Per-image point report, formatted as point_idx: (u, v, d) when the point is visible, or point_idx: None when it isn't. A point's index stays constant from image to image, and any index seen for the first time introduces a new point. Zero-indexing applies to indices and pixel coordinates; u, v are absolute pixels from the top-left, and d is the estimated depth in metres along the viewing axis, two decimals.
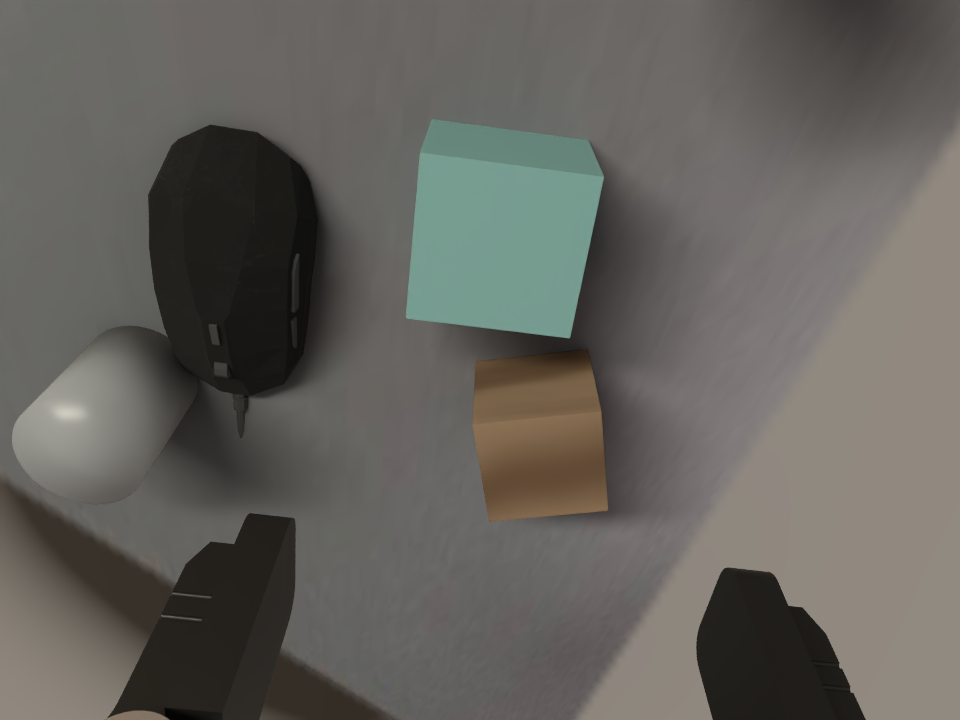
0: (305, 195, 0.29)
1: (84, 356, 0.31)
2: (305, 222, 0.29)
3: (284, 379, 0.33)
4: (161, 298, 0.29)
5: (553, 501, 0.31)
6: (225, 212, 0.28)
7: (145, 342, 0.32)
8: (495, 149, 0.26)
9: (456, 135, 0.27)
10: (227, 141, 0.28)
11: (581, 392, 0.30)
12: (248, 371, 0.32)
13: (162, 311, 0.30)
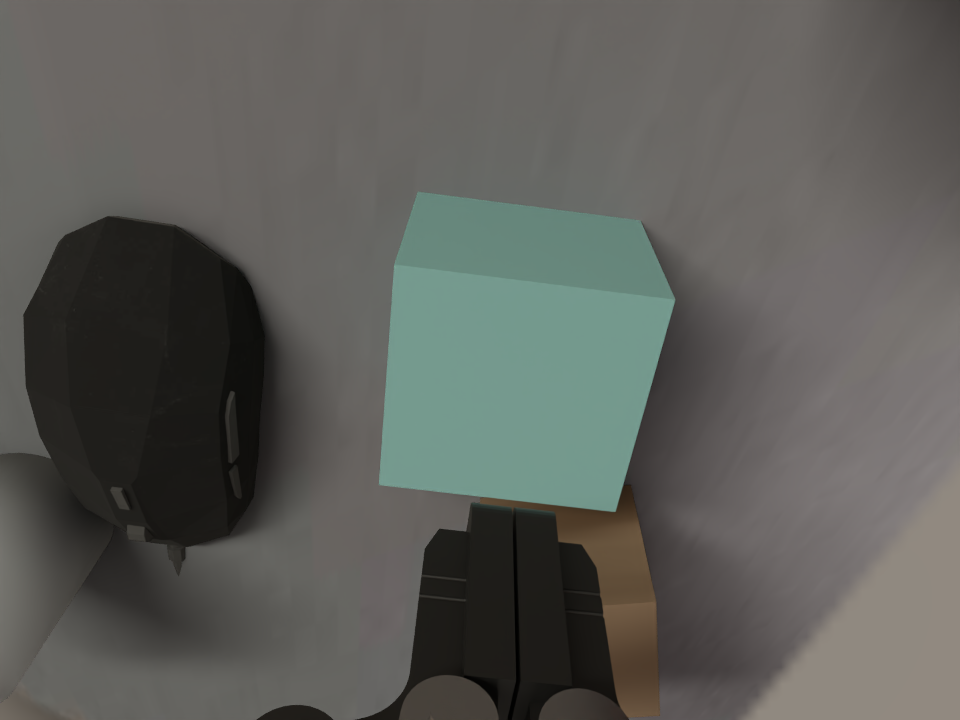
0: (243, 309, 0.21)
1: None
2: (243, 347, 0.21)
3: (228, 531, 0.25)
4: (49, 447, 0.22)
5: None
6: (126, 341, 0.20)
7: (35, 479, 0.24)
8: (509, 248, 0.17)
9: (451, 223, 0.18)
10: (131, 240, 0.20)
11: (626, 562, 0.22)
12: (176, 530, 0.24)
13: (54, 460, 0.22)
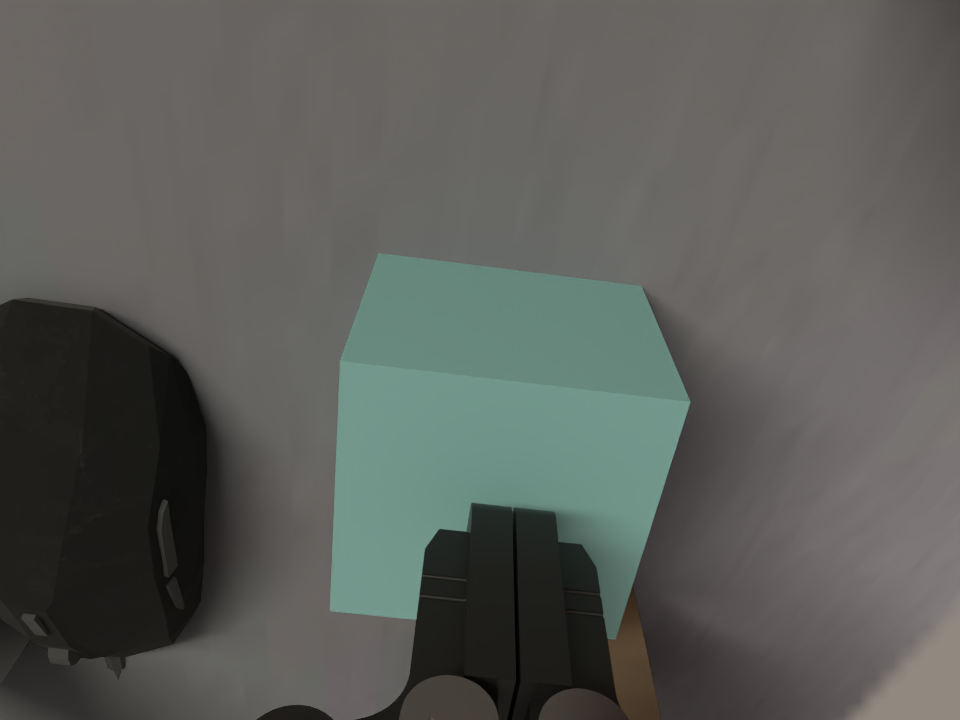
0: (178, 403, 0.18)
1: None
2: (177, 449, 0.18)
3: (172, 641, 0.22)
4: None
5: None
6: (33, 450, 0.17)
7: None
8: (485, 331, 0.14)
9: (416, 296, 0.15)
10: (40, 327, 0.17)
11: (628, 680, 0.19)
12: (108, 648, 0.21)
13: None
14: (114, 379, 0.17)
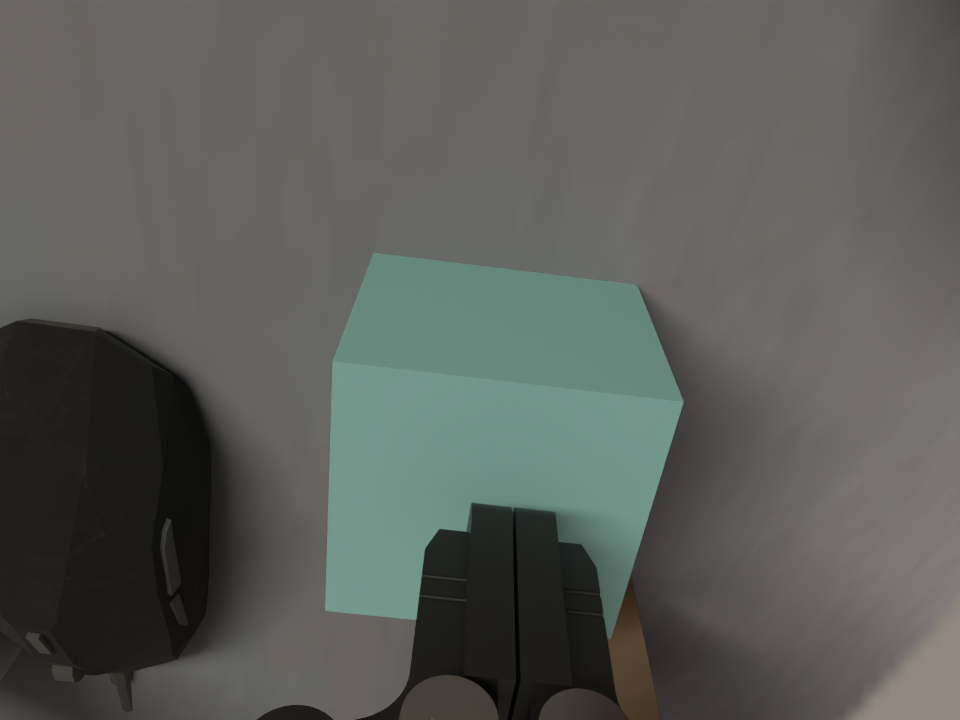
0: (181, 422, 0.18)
1: None
2: (180, 468, 0.18)
3: (176, 657, 0.22)
4: None
5: None
6: (38, 471, 0.17)
7: None
8: (479, 331, 0.14)
9: (411, 296, 0.15)
10: (44, 348, 0.17)
11: (628, 680, 0.19)
12: (112, 664, 0.21)
13: None
14: (117, 399, 0.17)
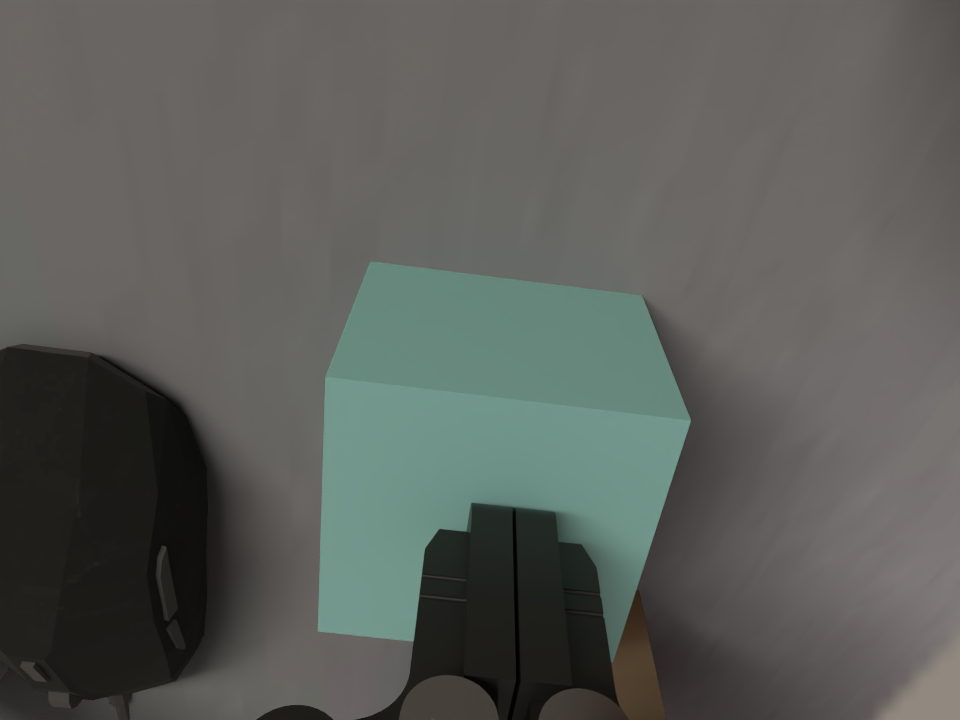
0: (176, 447, 0.18)
1: None
2: (175, 493, 0.18)
3: (174, 679, 0.22)
4: None
5: None
6: (30, 500, 0.16)
7: None
8: (478, 344, 0.14)
9: (408, 307, 0.15)
10: (36, 375, 0.17)
11: (636, 700, 0.18)
12: (109, 689, 0.20)
13: None
14: (111, 426, 0.17)
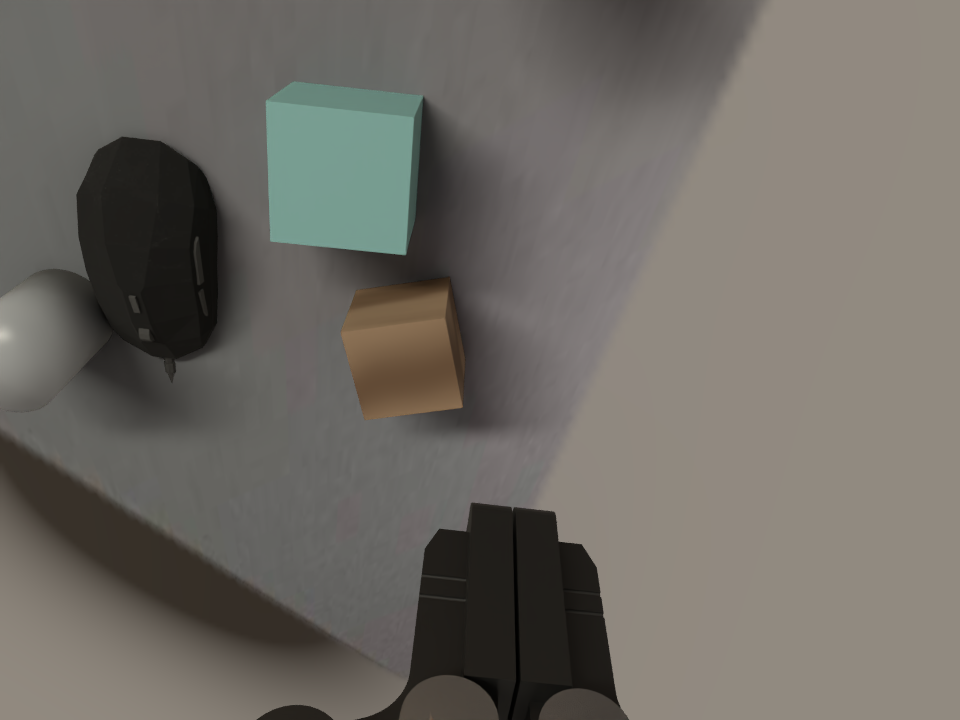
0: (202, 189, 0.36)
1: (11, 291, 0.37)
2: (202, 211, 0.36)
3: (202, 343, 0.40)
4: (92, 277, 0.37)
5: (415, 400, 0.37)
6: (135, 204, 0.35)
7: (65, 281, 0.38)
8: (333, 100, 0.32)
9: (306, 91, 0.33)
10: (136, 149, 0.35)
11: (434, 306, 0.36)
12: (168, 336, 0.39)
13: (94, 288, 0.37)
14: (171, 173, 0.35)
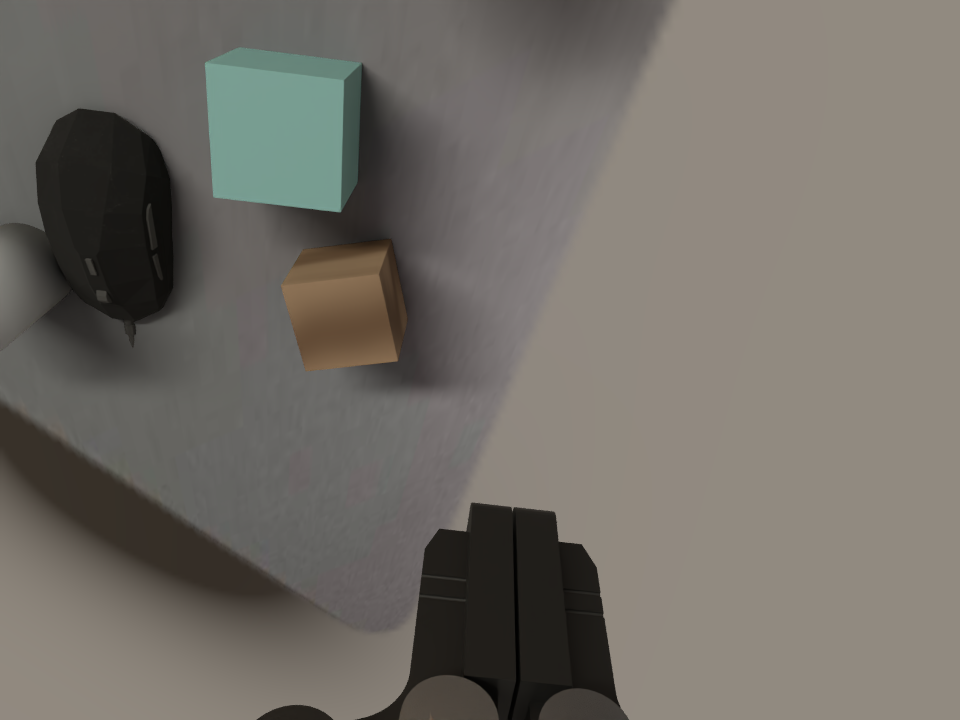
0: (154, 159, 0.39)
1: None
2: (154, 179, 0.39)
3: (158, 306, 0.43)
4: (51, 241, 0.39)
5: (353, 353, 0.39)
6: (90, 172, 0.37)
7: (25, 234, 0.41)
8: (272, 63, 0.34)
9: (248, 55, 0.35)
10: (91, 120, 0.38)
11: (371, 263, 0.39)
12: (125, 298, 0.41)
13: (54, 251, 0.40)
14: (124, 143, 0.38)
